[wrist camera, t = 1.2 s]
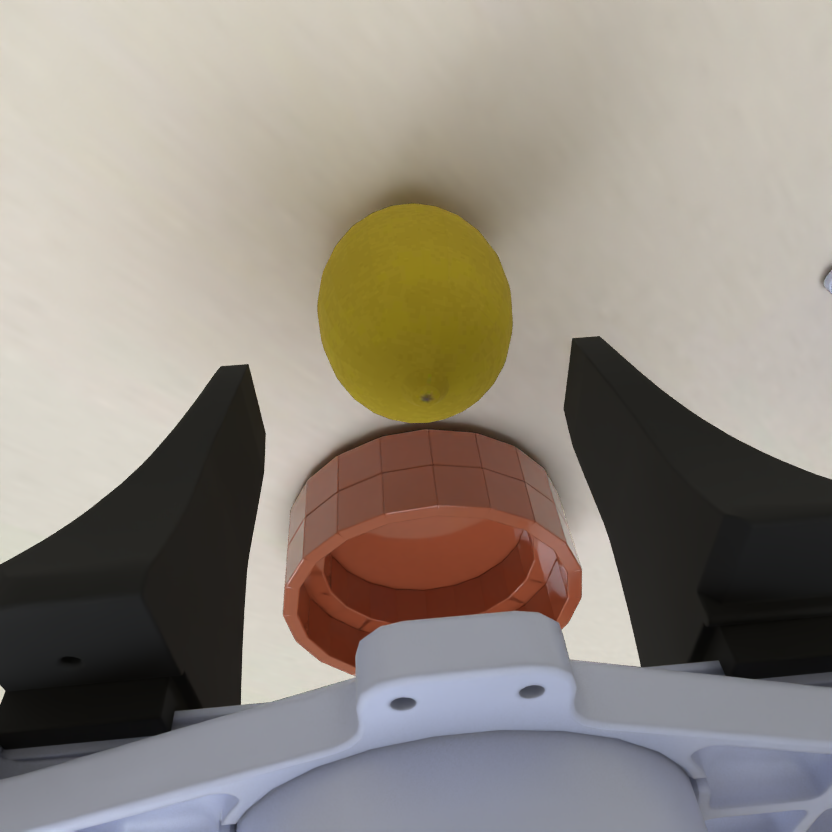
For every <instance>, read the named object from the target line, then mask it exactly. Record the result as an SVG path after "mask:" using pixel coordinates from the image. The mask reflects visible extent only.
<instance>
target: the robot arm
mask: <svg viewBox="0 0 832 832" xmlns="http://www.w3.org/2000/svg"><path fill="white" fill-rule="evenodd" d="M824 286H825V288H826V289H827V290H828V291H829V292H830V293H831V294H832V270H831V271H830V272H829V274H828V275H827V276H826V278H825V281H824ZM564 412H565V416H566V421H567V425H568V429H569V433H570V437H571V441H572V445H573V448H574V450H575V453H576V456H577V458H578V461H579V463H580V466H581V468H582V471H583V473H584V476H585V478H586V481H587V483H588V486H589V488H590V490H591V493H592V495H593V498H594V500H595V503H596V505H597V508H598V510H599V513H600V515H601V518H602V520H603V522H604V525H605V528H606V531H607V534H608V537H609V540H610V543H611V547H612V550H613V554H614V558H615V561H616V565H617V568H618V572H619V576H620V580H621V584H622V587H623V591H624V595H625V599H626V603H627V607H628V611H629V615H630V620H631V624H632V628H633V633H634V637H635V641H636V646H637V650H638V654H639V659H640V664H641V667H636V666H626V665H617V664H607V663H598V662H589V661H579V660H570V659H569V656H568V652H567V648H566V644H565V640H564V637H563V633H562V630H561V627H560V624H559V623H558V622H556V621H554V620H553V619H551V618H549V617H547V616H545V615H543V614H541V613H539V612H526V611H508V612H496V613H485V614H474V615H463V616H452V617H441V618H430V619H419V620H408V621H401V622H397V623H392V624H388V625H384V626H380V627H379V628H377V629H376V630H374V631H373V632H371V633H370V634H369V635H367V636H366V637H364V638H363V639H362V640H360V642H359V645H358V649H357V652H356V655H355V661H356V677H355V678H352V679H348V680H345V681H342V682H338V683H335V684H331V685H328V686H324V687H321V688H317V689H314V690H311V691H307V692H304V693H300V694H297V695H293V696H290V697H286V698H283V699H280V700H276V701H273V702H267V703H257V704H246V705H241V675H242V646H243V626H244V607H245V592H246V577H247V567H248V559H249V552H250V547H251V542H252V536H253V531H254V525H255V520H256V514H257V509H258V504H259V498H260V492H261V487H262V481H263V475H264V462H265V436H266V433H265V429H264V425H263V421H262V417H261V413H260V409H259V405H258V401H257V397H256V393H255V389H254V385H253V380H252V376H251V372H250V368H249V364H245V365H233V366H221V367H220V368H219V369H218V370H217V372H216V373H215V374H214V376H213V377H212V378H211V380H210V381H209V383H208V384H207V385H206V387H205V388H204V390H203V391H202V392H201V394H200V395H199V397H198V398H197V399H196V401H195V402H194V403H193V405H192V406H191V407H190V409H189V410H188V411H187V413H186V414H185V415H184V417H183V418H182V419H181V420H180V422H179V423H178V424H177V426H176V427H175V428H174V429H173V430H172V432H171V433H170V434H169V435H168V436H167V437H166V439H165V440H164V441H163V442H162V443H161V444H160V445H159V447H158V448H157V449H156V450H155V451H154V452H153V453H152V454H151V456H150V457H149V458H148V459H147V460H146V461H145V462H144V463H143V464H142V465H141V466H140V467H139V468H138V469H137V470H136V471H135V472H133V473H132V474H131V475H130V476H129V477H128V478H127V479H126V480H125V481H124V482H123V483H121V484H120V485H119V486H118V487H117V488H115V489H114V490H113V491H112V492H110V493H109V494H108V495H107V496H105V497H104V498H103V499H102V500H101V501H99V502H98V503H97V504H96V505H94V506H93V507H92V508H91V509H89V510H88V511H86V512H85V513H84V514H82V515H81V516H79V517H78V518H77V519H75V520H74V521H72V522H71V523H69V524H68V525H66V526H65V527H63V528H62V529H60V530H59V531H57V532H56V533H54V534H53V535H51V536H50V537H48V538H46V539H45V540H43V541H41V542H40V543H38V544H36V545H34V546H33V547H31V548H29V549H27V550H26V551H24V552H22V553H20V554H19V555H17V556H15V557H13V558H11V559H10V560H8V561H6V562H4V563H2V564H0V685H1V686H2V687H3V688H4V690H5V694H4V697H3V699H2V702H1V704H0V832H832V480H831V479H828V478H825V477H822V476H819V475H816V474H813V473H811V472H808V471H806V470H803V469H801V468H798V467H796V466H793V465H791V464H788V463H786V462H783V461H781V460H779V459H777V458H774V457H772V456H770V455H767V454H765V453H763V452H761V451H759V450H757V449H755V448H753V447H751V446H749V445H747V444H745V443H743V442H741V441H739V440H737V439H736V438H734V437H732V436H730V435H728V434H726V433H725V432H723V431H721V430H720V429H718V428H716V427H715V426H713V425H712V424H710V423H708V422H707V421H705V420H703V419H702V418H700V417H699V416H697V415H696V414H694V413H693V412H691V411H690V410H688V409H687V408H686V407H684V406H683V405H681V404H680V403H679V402H677V401H676V400H675V399H673V398H672V397H670V396H669V395H668V394H667V393H665V392H664V391H663V390H661V389H660V388H659V387H658V386H656V385H655V384H654V383H653V382H651V381H650V380H649V379H648V378H647V377H645V376H644V375H643V374H642V373H641V372H640V371H638V370H637V369H636V368H635V367H634V366H633V365H631V364H630V363H629V362H628V361H627V360H626V359H625V358H624V357H622V356H621V355H620V354H619V353H618V352H617V351H616V350H615V349H613V348H612V347H611V346H610V345H609V344H608V343H607V342H606V341H604V340H603V339H602V338H601V337H600V336H597V337H584V338H572V346H571V354H570V362H569V370H568V378H567V386H566V394H565V402H564Z"/></svg>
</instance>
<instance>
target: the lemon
mask: <svg viewBox="0 0 832 832" xmlns="http://www.w3.org/2000/svg"><path fill="white" fill-rule="evenodd" d="M317 309H318V319H319V327H320V334H321V340H322V344H323V347H324V350H325V353H326V355H327V357H328V360H329V362H330V364H331V366H332V368H333V371H334V373H335V375H336V377H337V379H338V380H339V381H340V383H341V384H342V385H343V386H344V387H345V389H346V390H347V391H348V392H349V393H350V394H351V396H352V397H353V398H354V399H355V400H356V401H358V402H359V403H361V404H362V405H364V406H365V407H367V408H368V409H369V410H371V411H372V412H374V413H376V414H378V415H381V416H383V417H386V418H388V419H391V420H396V421H402V422H408V423H429V422H434V421H438V420H443V419H446V418H449V417H451V416H453V415H456V414H458V413H461V412H463V411H464V410H466V409H467V408H469V407H470V406H472V405H473V404H474V403H476V402H477V401H479V399H480V398H481V397H482V396H483V395H484V394H485V393H486V392H487V391H488V390H489V389H490V388H491V386H492V385H493V384H494V382H495V381H496V379H497V377H498V375H499V373H500V372H501V370H502V368H503V366H504V363H505V361H506V357H507V353H508V349H509V344H510V340H511V335H512V327H513V318H512V303H511V292H510V287H509V284H508V281H507V278H506V276H505V273H504V270H503V268H502V265H501V262H500V260H499V258H498V256H497V254H496V252H495V251H494V250H493V249H492V247H491V246H490V245H489V243H488V242H487V241H486V239H485V238H484V237H483V236H482V234H481V233H480V232H479V231H478V230H477V229H476V228H474V227H473V226H472V225H470V224H469V223H468V222H466V221H465V220H464V219H462V218H461V217H460V216H458V215H456V214H454V213H451V212H449V211H447V210H444V209H442V208H439V207H436V206H431V205H424V204H416V203H411V204H402V205H393V206H390V207H387V208H384V209H382V210H379V211H376V212H373V213H371V214H370V215H368V216H367V217H365V218H364V219H362V220H361V221H360V222H358V223H357V224H355V225H354V226H352V227H351V228H350V230H349V231H348V232H347V233H346V234H345V235H344V236H343V238H342V239H341V240H340V241H339V242H338V243H337V245H336V246H335V248H334V250H333V252H332V254H331V256H330V258H329V260H328V262H327V264H326V267H325V269H324V271H323V274H322V278H321V284H320V290H319V296H318V304H317Z"/></svg>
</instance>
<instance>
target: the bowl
mask: <svg viewBox="0 0 832 832" xmlns="http://www.w3.org/2000/svg"><path fill="white" fill-rule="evenodd" d="M581 596H582V568H581V565H580V562H579V558H578V555H577V552H576V549H575V546H574V542H573V539H572V536H571V533H570V529H569V526H568V523H567V520H566V516H565V513H564V510H563V507H562V504H561V500H560V497H559V494H558V492H557V491H556V489H555V487H554V485H553V483H552V482H551V480H550V478H549V476H548V474H547V473H546V471H545V469H544V468H543V467H542V466H540V465H539V464H538V463H536V462H535V461H534V460H532V459H531V458H530V457H529V456H527V455H526V454H525V453H523V452H522V451H521V450H519V449H518V448H517V447H515V446H513V445H510V444H507V443H505V442H502V441H499V440H496V439H493V438H490V437H487V436H484V435H481V434H478V433H473V432H460V431H447V430H433V429H429V430H428V429H423V430H417V431H411V432H405V433H399V434H393V435H387V436H381V437H380V438H377V439H374V440H372V441H370V442H367V443H365V444H363V445H360V446H358V447H356V448H353V449H351V450H349V451H346V452H344V453H342V454H340V455H337V456H336V457H335V458H334V459H332V460H331V461H330V462H329V463H327V464H326V465H325V466H324V467H323V468H321V469H320V470H319V471H318V472H317V473H315V474H314V475H313V476H312V477H310V478H309V479H308V480H307V482H306V483H305V485H304V487H303V489H302V490H301V492H300V494H299V496H298V497H297V499H296V501H295V503H294V504H293V506H292V508H291V512H290V525H289V537H288V550H287V563H286V575H285V588H284V602H283V616H284V619H285V621H286V623H287V625H288V627H289V629H290V631H291V633H292V635H293V637H294V639H295V640H296V642H297V643H299V644H300V645H301V646H302V647H303V648H305V649H306V650H307V651H308V652H309V653H311V654H312V655H313V656H314V657H315V658H317V659H318V660H319V661H321V662H323V663H325V664H327V665H330V666H332V667H334V668H337V669H339V670H341V671H344V672H346V673H348V674H351V675H354V676H356V661H355V655H356V652H357V649H358V645H359V642H360V640H362V639H363V638H364V637H366V636H367V635H369V634H370V633H371V632H373V631H374V630H376V629H377V628H379V627H380V626H384V625H388V624H392V623H397V622H401V621H408V620H419V619H430V618H441V617H452V616H463V615H474V614H485V613H496V612H508V611H526V612H539V613H541V614H543V615H545V616H547V617H549V618H551V619H553V620H554V621H556V622H558V623H559V624H560V627H561V630H562V629H563V628H564V627H565V626H566V625H567V623H569V621H570V619H571V617H572V615H573V613H574V611H575V609H576V607H577V605H578V603H579V602H580V600H581Z"/></svg>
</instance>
